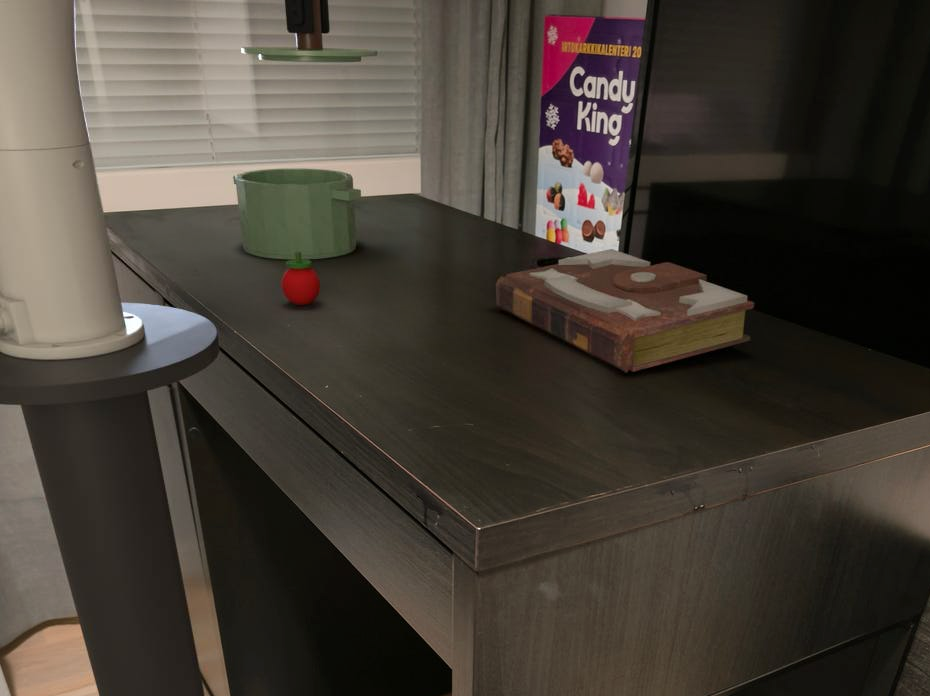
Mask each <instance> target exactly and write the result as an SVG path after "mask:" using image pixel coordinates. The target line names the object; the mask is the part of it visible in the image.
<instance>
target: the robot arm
mask: <svg viewBox="0 0 930 696" xmlns="http://www.w3.org/2000/svg"><path fill="white" fill-rule="evenodd" d="M284 7H285V8H284V10H285V21H286V30H287V32H288V33H289V34H296V33H307V34H312V33H314V16H313V1H312V0H284ZM320 11H321V27H322V35H326V34H329V33H330V32H331V30H330V12H329V11H330V9H329V0H320ZM76 39H77V38H76V0H0V352H2V353H3V354H6V355H9V356H12V357H17V358H23V359H33V360H67V359H79V358H87V357H94V356H99V355H104V354H109V353H113V352H117V351H120V350H123V349H126V348H128V347H130V346H133V345H135V344H136V343H138V342H139V341H141V340H142V339H143V337H144V336H145V328H144V324H143V321H142V320H141V319H140V318H139V317H137V316H135V315H132V314H129V313H126V312H123V309H122V304H121V303H122V300H121V295H120V290H119V284H118V279H117V273H116V268H115V264H114V259H113V254H112V253H113V252H112V249H111V243H110V238H109V237H110V236H109V234H108V232H109V231H108V227H107V223H106V216H105V212H104V205H103V202H102V197H101V191H100V187H99V181H98V176H97V171H96V166H95V160H94V156H93V150H92V145H91V140H90V135H89V129H88V124H87V120H86V114H85V113H86V112H85V108H84V103H83V97H82V90H81V83H80V77H79V69H78V56H77V41H76Z"/></svg>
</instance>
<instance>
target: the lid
mask: <svg viewBox="0 0 930 696" xmlns="http://www.w3.org/2000/svg"><path fill="white" fill-rule="evenodd" d="M312 1H313V16H314V33H312V34H307V33H295V42H296V43H295V45H296V46H243V47H241V48H240V50H241V54H246V55H247V54H248V55H258V59H259V60H260V61H272V62H291V63H293V62H294V63H360V62H362V58H363V57H365V58H366V57H378V50H376V49H364V48H362V49H361V48H339V47H323V45H324V43H323V34H322V27H321V11H320V0H312Z"/></svg>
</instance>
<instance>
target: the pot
mask: <svg viewBox="0 0 930 696" xmlns="http://www.w3.org/2000/svg"><path fill="white" fill-rule="evenodd" d="M232 179H233V184H234V185H235V188H236V198H237V206H238V207H237V208H238V213H239V215H238V216H239V222H240V232H241V240H242V247H243V250H244V252H245V253H247V254H249V255H252V256H256V257H259V258H266V259H272V260H287V261H290V260H296V257H295V252H296V251H300V252H301V258H302V259H303V260H319V259H329V258H336V257H340V256H345V255H348V254H350V253H352V252H354V251H355V250H356V248H357V231H356V213H355V212H356V211H355V201H356V200H360V199H362V190H361V189H359V188H354V178H353V176H352V174H351V173H347V172H344V171H339V170H331V169H321V168H320V169H319V168H305V167H304V168H303V167H302V168H301V167H300V168H299V167H298V168H268V169H257V170H251V171H244V172H242V173H238V174H236V175H233V176H232Z"/></svg>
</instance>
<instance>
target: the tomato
mask: <svg viewBox="0 0 930 696" xmlns="http://www.w3.org/2000/svg"><path fill="white" fill-rule="evenodd" d="M295 257H296V260H287V261H286V262H285V265H286V268H287V269H286V270H285V271H284V273H283V275H282V278H281V289H282V293H283V295H284V296H285V298H286V299H287V300H288V301H289V302H291V303H292V304H294V305H296V306H307V305H310V304H312V303H313V302H315V300H317V298H318V297H319V294H320V291H321V282H320V278H319V276H318V275H317V274H318V273H316V272H315V270H314V269H312V268H311V267H312V266H313V263H312V261H311V260H310V259H305V260H303V259H302V258H301V252H300V251H296V252H295Z"/></svg>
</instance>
